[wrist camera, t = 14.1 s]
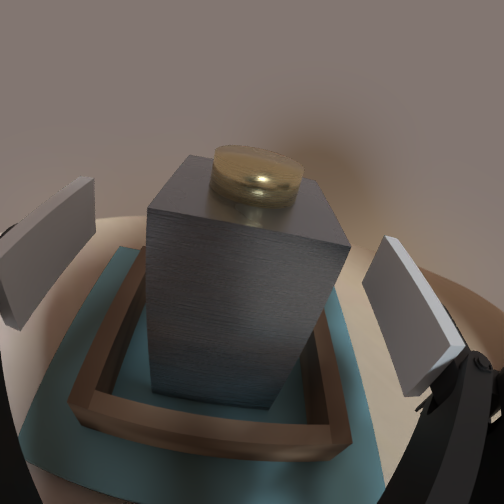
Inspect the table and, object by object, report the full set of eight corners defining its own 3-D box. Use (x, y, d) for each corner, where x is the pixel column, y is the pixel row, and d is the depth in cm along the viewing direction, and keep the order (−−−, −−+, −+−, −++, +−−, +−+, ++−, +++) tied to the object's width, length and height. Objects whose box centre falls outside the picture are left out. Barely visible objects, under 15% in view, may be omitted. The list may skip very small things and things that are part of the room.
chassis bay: (330, 292, 25) (344, 261, 23) (379, 506, 10) (418, 489, 8) (120, 254, 23) (119, 218, 21) (19, 457, 8) (-12, 430, 6)
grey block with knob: (266, 328, 19) (322, 157, 13) (268, 410, 14) (365, 211, 8) (173, 312, 18) (193, 130, 12) (151, 392, 13) (150, 167, 7)
